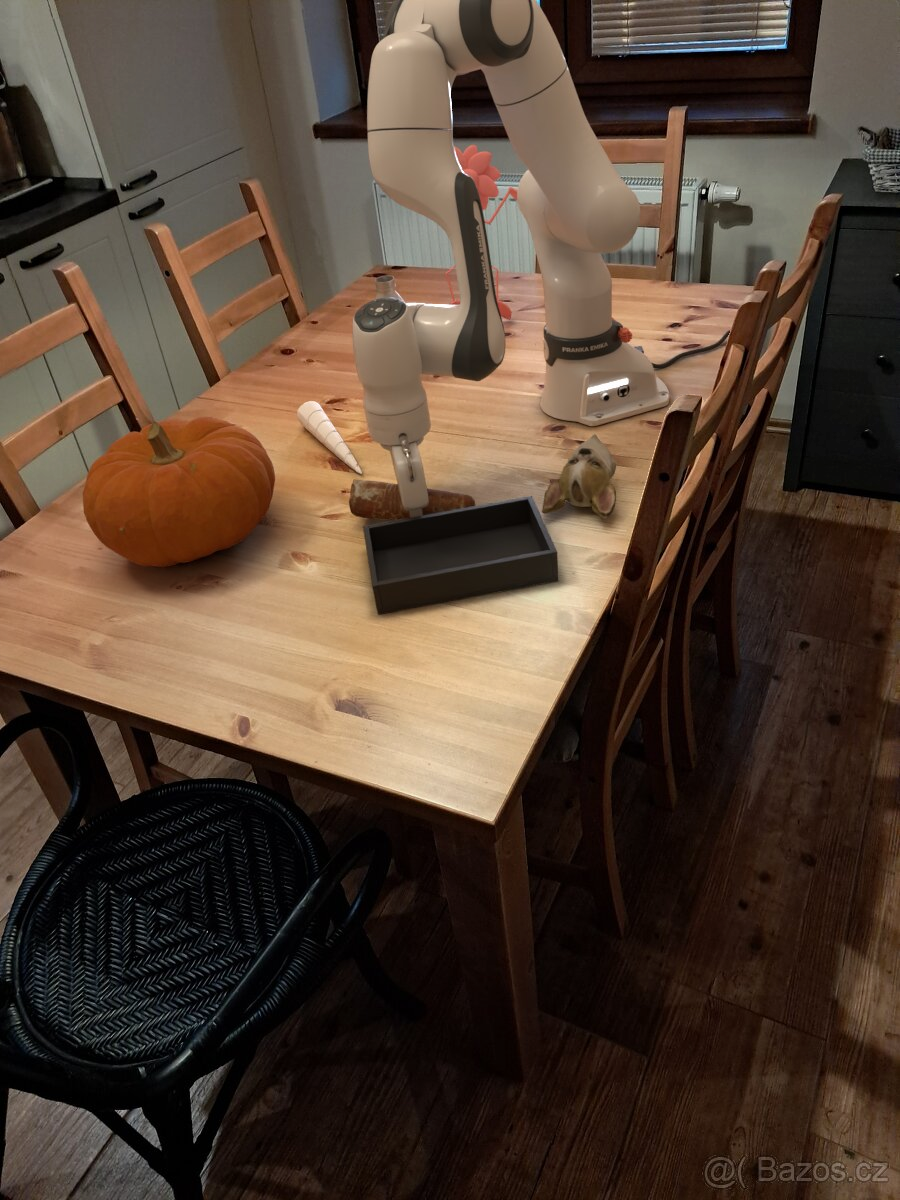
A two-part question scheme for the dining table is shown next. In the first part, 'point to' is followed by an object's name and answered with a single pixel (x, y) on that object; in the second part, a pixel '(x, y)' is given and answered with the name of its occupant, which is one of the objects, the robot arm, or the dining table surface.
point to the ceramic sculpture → (585, 480)
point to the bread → (398, 501)
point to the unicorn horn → (325, 432)
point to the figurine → (483, 196)
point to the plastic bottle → (386, 287)
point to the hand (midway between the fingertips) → (412, 502)
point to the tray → (459, 554)
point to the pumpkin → (178, 491)
